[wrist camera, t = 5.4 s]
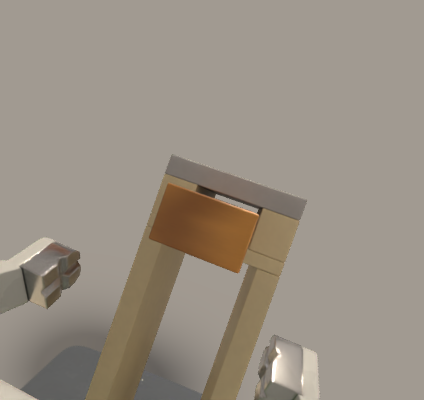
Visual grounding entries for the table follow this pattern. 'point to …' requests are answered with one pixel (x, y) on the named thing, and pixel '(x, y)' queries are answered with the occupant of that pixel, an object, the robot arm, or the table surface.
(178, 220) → the orange rectangular bar
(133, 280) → the tall tan shelf stand
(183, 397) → the table surface
